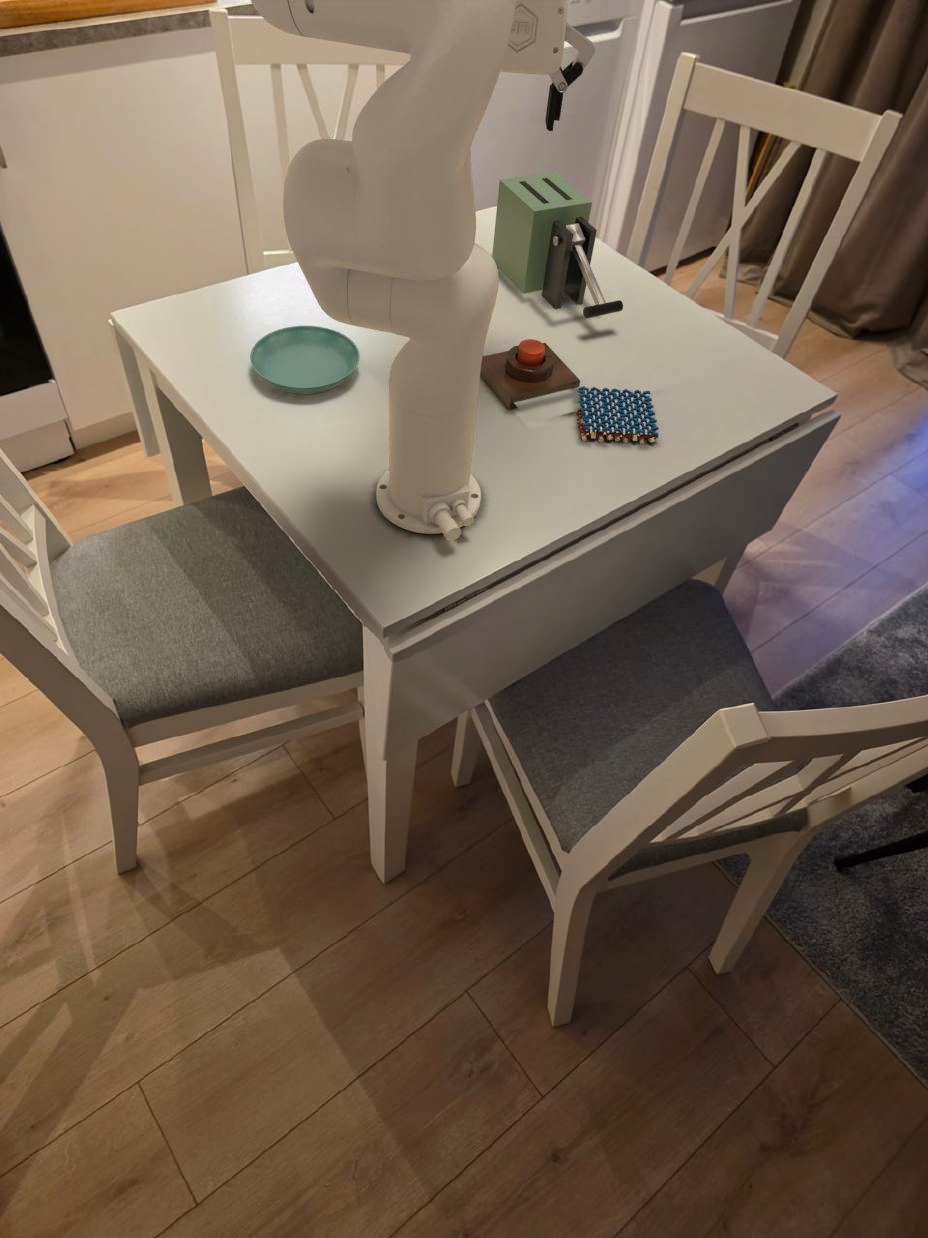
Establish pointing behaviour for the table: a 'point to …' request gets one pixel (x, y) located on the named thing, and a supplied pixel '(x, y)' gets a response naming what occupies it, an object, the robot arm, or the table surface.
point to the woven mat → (616, 415)
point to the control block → (525, 376)
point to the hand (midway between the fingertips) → (507, 123)
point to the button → (531, 352)
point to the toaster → (532, 224)
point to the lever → (590, 278)
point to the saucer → (305, 359)
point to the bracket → (566, 264)
